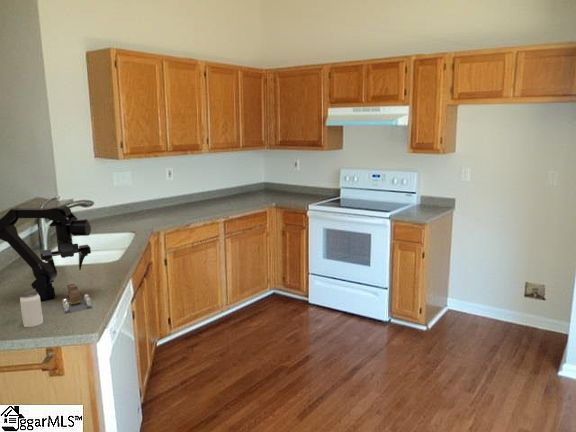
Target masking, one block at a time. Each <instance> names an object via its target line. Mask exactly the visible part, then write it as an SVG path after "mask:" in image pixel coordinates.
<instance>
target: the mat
mask: <svg viewBox="0 0 576 432" xmlns="http://www.w3.org/2000/svg"><path fill="white" fill-rule="evenodd" d="M80 302H81V303H80V304H78V305H70V302H69V309H70V312H69V313H65V310H64V309H63V303H62V304H61V307H62V309H63V311H64V314H65V315H66V314H72V313H76V312H77V313H78V312H81V311H86V310H90V309H91V310H92V309H93V307H92V306H91V308H89V309H87V307H86V305H85V301H84V299H81V300H80Z"/></svg>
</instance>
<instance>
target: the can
mask: <svg viewBox="0 0 576 432" xmlns="http://www.w3.org/2000/svg"><path fill="white" fill-rule="evenodd" d="M19 301H20V302H19V303H20V309H21V317H22V324H23V326H24V328H33V327H34V328H35V327H38V326H39V325H42V324H43V323H44V318H43V308H42V301H40V296H39V295H38V292H36V290H34V291H27V292H25V293H22V294H20V298H19Z"/></svg>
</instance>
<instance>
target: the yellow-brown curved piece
mask: <svg viewBox="0 0 576 432" xmlns="http://www.w3.org/2000/svg"><path fill="white" fill-rule="evenodd" d="M69 303H70V305H78V304H80V303H81V302H80V301H75V302H70V301H69Z"/></svg>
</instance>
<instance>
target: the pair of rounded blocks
mask: <svg viewBox="0 0 576 432" xmlns="http://www.w3.org/2000/svg"><path fill="white" fill-rule="evenodd" d="M83 298H84V299H83V300H84V301H85V305H86V307H87V310H90V309H89V308H91V307H92V299H91V297H90V295H89V293H85V294H83ZM61 300H62V304H63V307H62V309H64V310H65V313H68V314H70V313H69V312H70V309H69V303H70V301H68V298H67V297H66V298H62V299H61ZM91 309H92V308H91ZM64 310H63V311H64ZM65 313H64V314H65Z"/></svg>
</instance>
